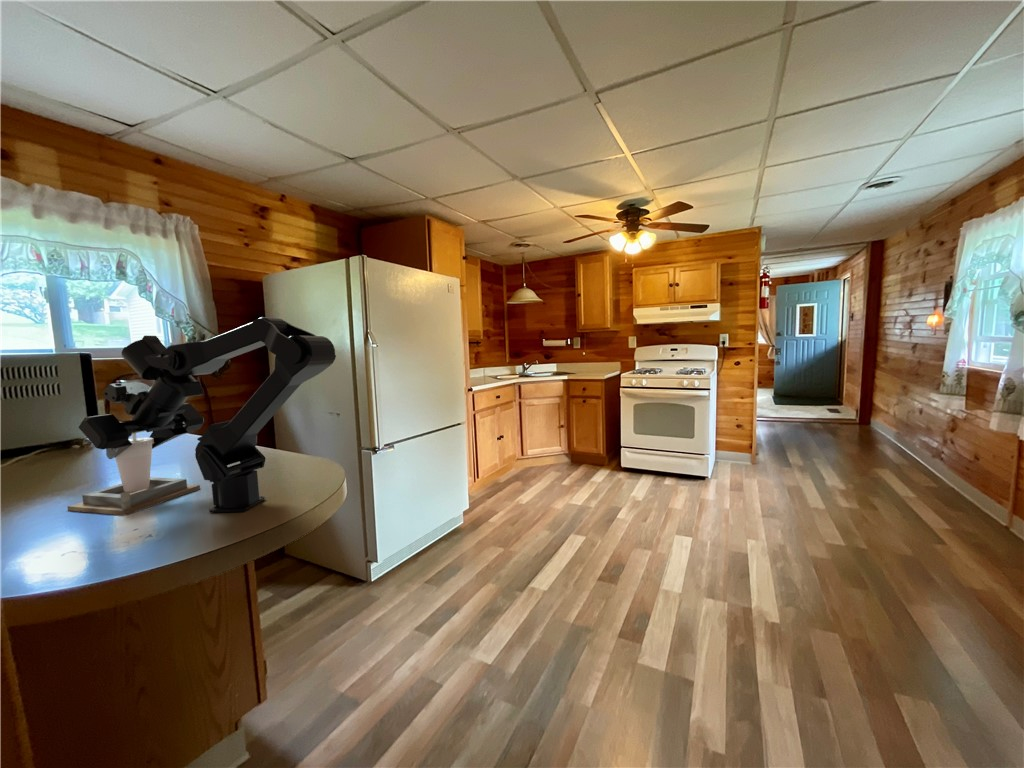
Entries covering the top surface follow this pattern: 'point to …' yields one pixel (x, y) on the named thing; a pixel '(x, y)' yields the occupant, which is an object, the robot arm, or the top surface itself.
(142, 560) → the top surface
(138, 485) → the smoothie
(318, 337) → the robot arm
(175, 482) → the socket
